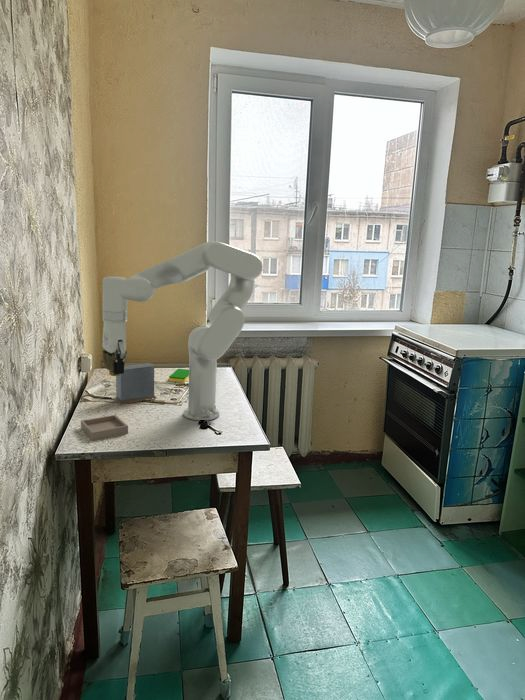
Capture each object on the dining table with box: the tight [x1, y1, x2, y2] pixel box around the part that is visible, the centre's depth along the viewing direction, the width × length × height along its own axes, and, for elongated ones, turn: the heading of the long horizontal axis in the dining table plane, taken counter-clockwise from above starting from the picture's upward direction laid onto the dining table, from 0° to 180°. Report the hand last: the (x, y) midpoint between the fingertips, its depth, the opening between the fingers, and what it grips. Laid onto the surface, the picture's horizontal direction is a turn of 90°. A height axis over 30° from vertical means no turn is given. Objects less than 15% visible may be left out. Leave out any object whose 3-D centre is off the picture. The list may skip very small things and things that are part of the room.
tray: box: [80, 414, 129, 441], centre depth 153 cm, size 11×11×2 cm
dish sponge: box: [168, 368, 189, 383], centre depth 216 cm, size 7×14×2 cm, turn 173°
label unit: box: [114, 362, 157, 405], centre depth 182 cm, size 6×14×13 cm, turn 126°
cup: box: [102, 349, 128, 377], centre depth 156 cm, size 8×7×8 cm
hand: (114, 370), depth 156 cm, fingers closed on cup, 7 cm apart
